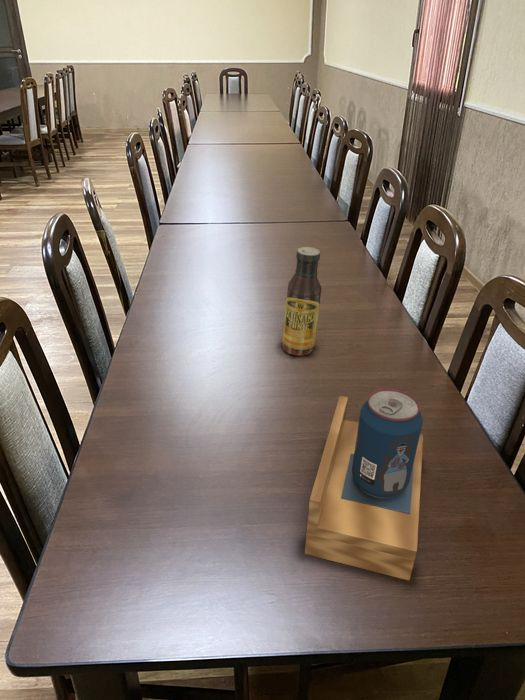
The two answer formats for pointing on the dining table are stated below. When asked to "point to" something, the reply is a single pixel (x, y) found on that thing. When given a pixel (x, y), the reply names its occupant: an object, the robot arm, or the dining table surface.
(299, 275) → the sauce bottle
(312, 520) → the wooden block with lip
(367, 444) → the soda can
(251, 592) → the dining table surface
